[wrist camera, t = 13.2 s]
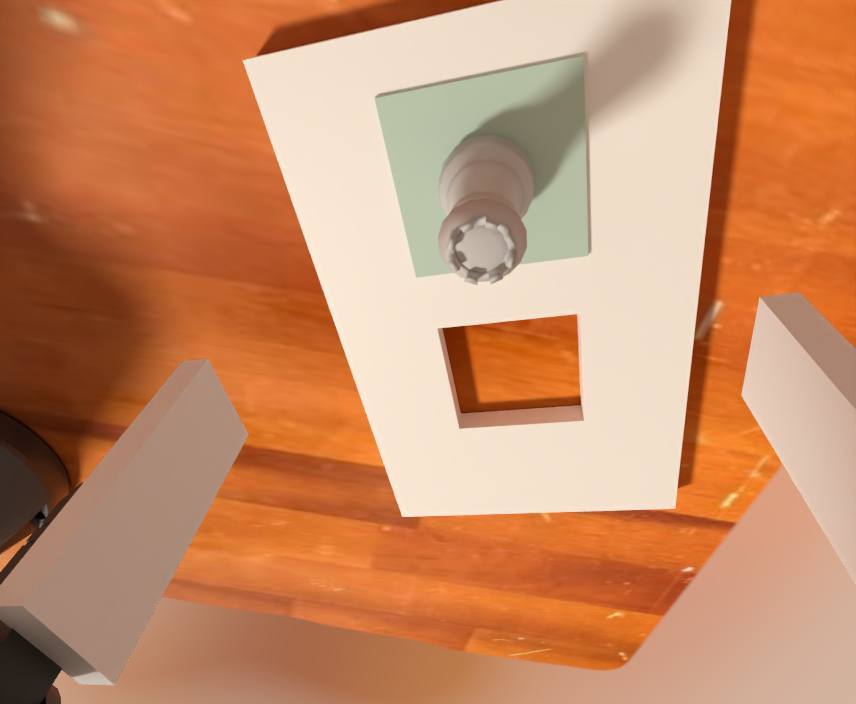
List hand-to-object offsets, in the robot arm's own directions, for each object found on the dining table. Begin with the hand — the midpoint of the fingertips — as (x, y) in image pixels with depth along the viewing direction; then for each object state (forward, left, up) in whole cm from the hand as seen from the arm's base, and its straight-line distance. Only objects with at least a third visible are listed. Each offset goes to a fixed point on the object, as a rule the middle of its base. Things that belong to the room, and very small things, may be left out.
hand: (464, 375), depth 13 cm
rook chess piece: (0, 0, -15) cm, 15 cm away
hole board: (0, -9, -17) cm, 19 cm away
